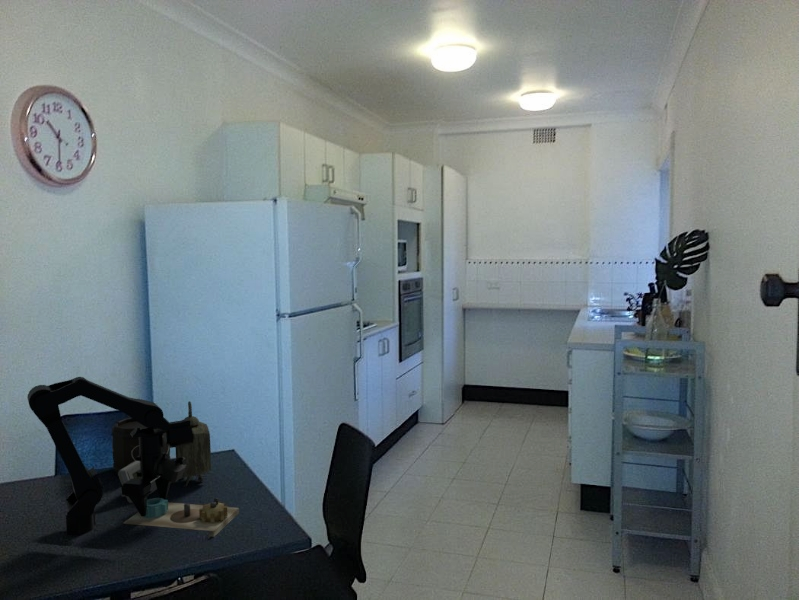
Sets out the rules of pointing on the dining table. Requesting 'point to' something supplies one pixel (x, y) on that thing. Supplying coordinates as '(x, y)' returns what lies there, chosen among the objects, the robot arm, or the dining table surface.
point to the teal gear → (156, 507)
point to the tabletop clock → (196, 449)
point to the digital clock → (132, 476)
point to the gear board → (191, 517)
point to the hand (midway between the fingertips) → (153, 508)
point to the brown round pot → (127, 443)
